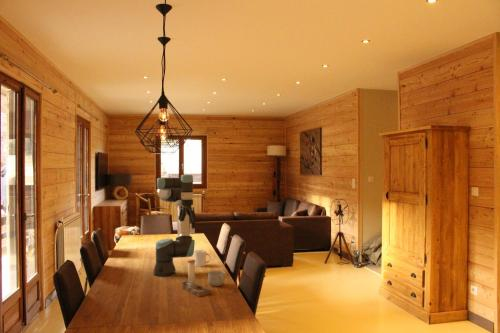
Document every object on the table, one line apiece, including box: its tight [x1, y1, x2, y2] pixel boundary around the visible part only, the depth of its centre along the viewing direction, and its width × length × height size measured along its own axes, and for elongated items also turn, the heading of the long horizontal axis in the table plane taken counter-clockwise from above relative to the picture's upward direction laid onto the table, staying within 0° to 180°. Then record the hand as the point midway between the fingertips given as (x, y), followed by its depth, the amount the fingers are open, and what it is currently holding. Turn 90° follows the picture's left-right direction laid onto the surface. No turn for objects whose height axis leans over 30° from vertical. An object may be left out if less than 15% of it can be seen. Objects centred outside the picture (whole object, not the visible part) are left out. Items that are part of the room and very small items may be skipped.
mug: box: [193, 249, 212, 268], centre depth 315 cm, size 9×12×11 cm
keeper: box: [186, 259, 199, 288], centre depth 254 cm, size 6×5×16 cm
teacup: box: [207, 270, 226, 287], centre depth 261 cm, size 14×11×8 cm
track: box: [181, 280, 212, 297], centre depth 249 cm, size 20×8×4 cm, turn 36°
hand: (187, 232), depth 268 cm, fingers open, 13 cm apart
